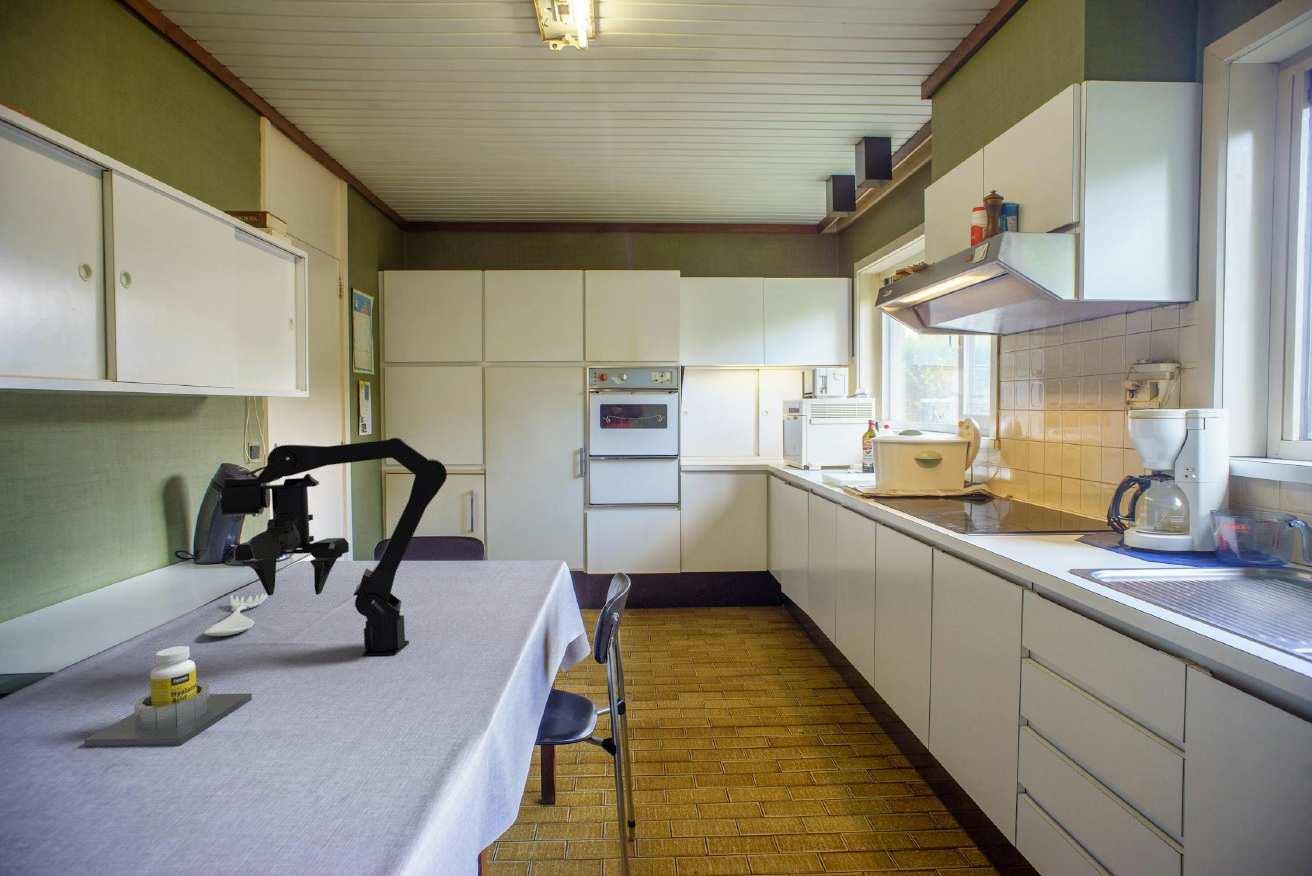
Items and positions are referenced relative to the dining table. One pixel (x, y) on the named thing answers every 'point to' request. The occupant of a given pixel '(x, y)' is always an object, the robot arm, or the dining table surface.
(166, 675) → the supplement bottle
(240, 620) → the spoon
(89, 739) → the duct collar
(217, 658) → the dining table surface
